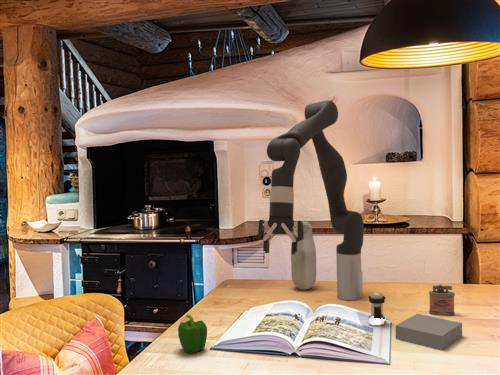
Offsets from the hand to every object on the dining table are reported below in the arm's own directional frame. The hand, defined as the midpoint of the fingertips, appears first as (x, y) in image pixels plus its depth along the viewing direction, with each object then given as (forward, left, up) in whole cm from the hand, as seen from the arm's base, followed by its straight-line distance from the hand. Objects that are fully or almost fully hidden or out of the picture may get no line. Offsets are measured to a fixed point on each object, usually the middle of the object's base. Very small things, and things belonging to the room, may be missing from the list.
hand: (279, 253), depth 158 cm
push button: (-24, +20, -25) cm, 40 cm away
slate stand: (-23, +37, -25) cm, 50 cm away
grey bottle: (-43, -25, -25) cm, 55 cm away
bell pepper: (+28, -10, -25) cm, 39 cm away
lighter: (-46, +31, -25) cm, 61 cm away
